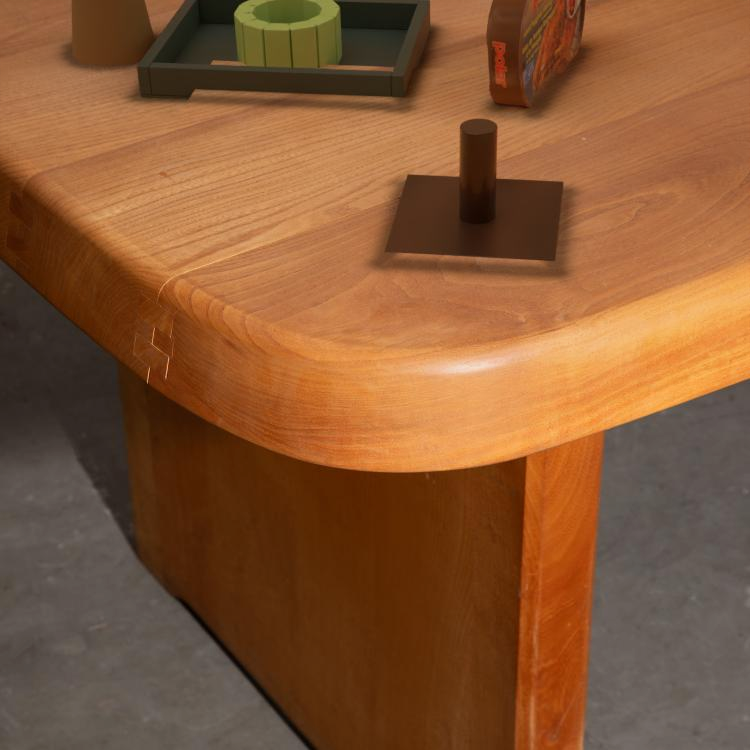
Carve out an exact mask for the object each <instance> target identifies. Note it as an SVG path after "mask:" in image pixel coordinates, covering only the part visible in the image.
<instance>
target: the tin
mask: <svg viewBox="0 0 750 750" xmlns="http://www.w3.org/2000/svg"><path fill="white" fill-rule="evenodd" d="M586 3H587V0H492V1H491V4H490V8H489V13H488V17H487V25H486V34H485V36H486V38H485V39H486V48H487V62H488V63H487V64H488V78H489V79H488V80H489V85H488V91H489V94H490V97H491V99H492V101H493V102H494V103H495V104H499V105H509V106H516V107H526V108H528V109H530V108H532V107H533V106H532V104H531V103H530V101H531V100H532V98H533V97H534V96H535V94H536V93H537V92H538V91H539V89H540V88H541V86H542V85H543V83H545V81H546V79H547V78H548V77H549V75H550V74H563V72H564V71H565V69H566V68H567V67H568V66H569V64H570V63H571V61H572V60H573V59H574V57H576V56H577V55H578V52H579V50H580V46H581V42H582V37H583V32H584V26H585V18H586V17H585V16H586Z"/></svg>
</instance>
